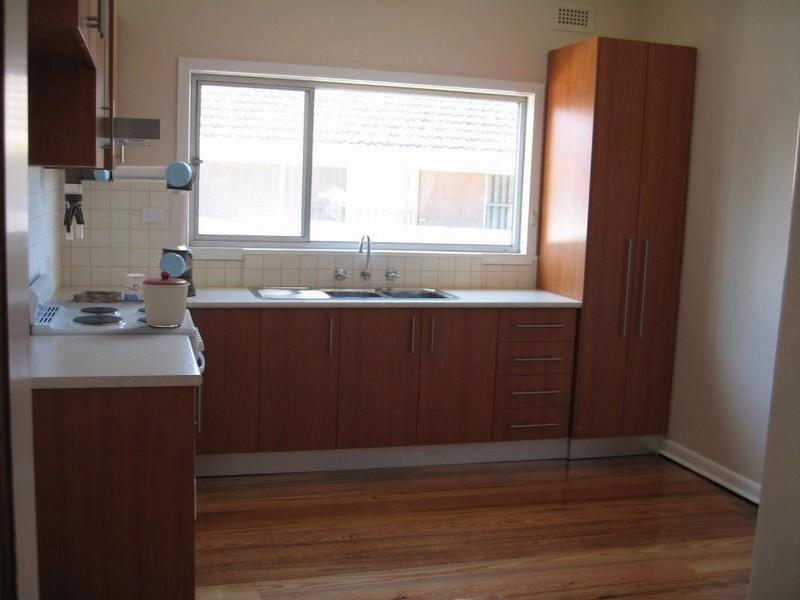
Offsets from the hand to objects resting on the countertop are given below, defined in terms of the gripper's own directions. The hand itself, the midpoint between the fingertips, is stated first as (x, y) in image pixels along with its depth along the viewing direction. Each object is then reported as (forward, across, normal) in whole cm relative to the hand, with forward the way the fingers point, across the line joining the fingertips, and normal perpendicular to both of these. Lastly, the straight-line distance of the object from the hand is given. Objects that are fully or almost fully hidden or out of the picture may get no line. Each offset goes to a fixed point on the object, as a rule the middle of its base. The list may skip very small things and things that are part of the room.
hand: (74, 239), depth 389 cm
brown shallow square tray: (+27, +11, +14) cm, 32 cm away
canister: (+28, +80, +61) cm, 104 cm away
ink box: (+27, +7, +30) cm, 41 cm away
